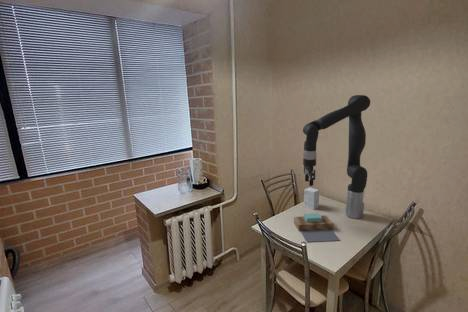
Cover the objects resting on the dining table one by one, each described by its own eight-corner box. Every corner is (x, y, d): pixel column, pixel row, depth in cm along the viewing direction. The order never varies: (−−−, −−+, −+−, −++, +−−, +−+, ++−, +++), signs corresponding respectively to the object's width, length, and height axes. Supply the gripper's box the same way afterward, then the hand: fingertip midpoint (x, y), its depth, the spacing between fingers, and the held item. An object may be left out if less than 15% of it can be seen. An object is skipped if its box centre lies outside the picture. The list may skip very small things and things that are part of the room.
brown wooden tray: (325, 221, 154) (326, 215, 153) (332, 229, 144) (333, 223, 143) (293, 222, 153) (294, 216, 153) (298, 231, 144) (298, 224, 143)
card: (318, 216, 152) (318, 213, 151) (322, 221, 146) (322, 217, 145) (303, 217, 151) (303, 213, 151) (306, 222, 145) (307, 218, 145)
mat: (331, 230, 144) (331, 229, 144) (340, 240, 133) (340, 240, 133) (300, 231, 143) (300, 231, 143) (306, 242, 133) (306, 241, 132)
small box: (318, 207, 173) (319, 189, 170) (313, 210, 169) (314, 192, 166) (308, 203, 179) (309, 186, 176) (303, 206, 176) (304, 189, 173)
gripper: (320, 160, 142) (319, 187, 146) (311, 154, 156) (311, 179, 160) (307, 160, 142) (306, 187, 146) (300, 155, 156) (299, 180, 160)
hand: (309, 183), depth 153 cm, fingers open, 7 cm apart
